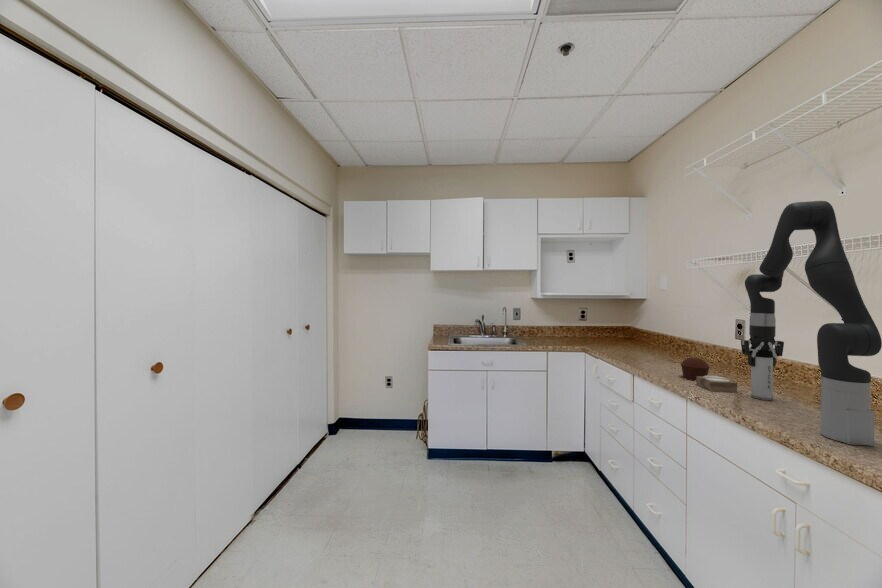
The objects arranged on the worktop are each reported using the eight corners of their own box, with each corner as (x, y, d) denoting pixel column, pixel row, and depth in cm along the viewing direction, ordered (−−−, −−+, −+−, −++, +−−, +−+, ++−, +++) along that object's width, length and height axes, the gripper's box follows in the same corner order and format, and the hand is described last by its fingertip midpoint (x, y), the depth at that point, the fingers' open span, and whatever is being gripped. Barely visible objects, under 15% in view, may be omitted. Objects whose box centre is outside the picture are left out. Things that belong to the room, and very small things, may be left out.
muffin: (709, 383, 156) (709, 361, 156) (680, 379, 163) (680, 358, 163) (708, 378, 165) (709, 357, 165) (681, 374, 172) (681, 355, 172)
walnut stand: (737, 392, 142) (737, 381, 142) (710, 391, 143) (711, 380, 143) (720, 385, 152) (720, 375, 152) (696, 384, 153) (696, 375, 153)
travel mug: (749, 394, 139) (749, 346, 139) (771, 397, 135) (772, 347, 134) (750, 398, 134) (750, 348, 134) (773, 401, 130) (774, 349, 130)
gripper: (749, 325, 131) (748, 368, 131) (791, 325, 129) (790, 369, 129) (735, 323, 139) (734, 364, 139) (774, 324, 137) (774, 365, 137)
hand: (761, 366), depth 134 cm, fingers closed on travel mug, 6 cm apart
